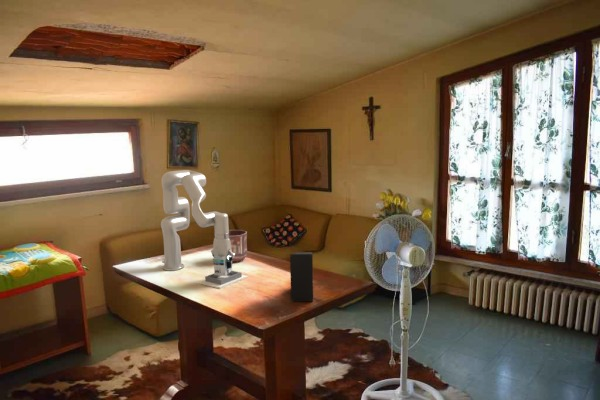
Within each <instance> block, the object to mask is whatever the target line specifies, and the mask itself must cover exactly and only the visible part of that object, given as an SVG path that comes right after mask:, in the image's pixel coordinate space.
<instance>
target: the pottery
mask: <svg viewBox="0 0 600 400" xmlns="http://www.w3.org/2000/svg"><path fill="white" fill-rule="evenodd" d="M229 239H230V243H231V251H232V252H233V253H234V254H235V256H234V259H233V260H232V264H235V263H240V262H242V261H244V260H245V258H247V255H248V244H247V243H248V241H247V239H248V231H246V230H243V229H229Z"/></svg>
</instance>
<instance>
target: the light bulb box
mask: <svg viewBox="0 0 600 400" xmlns="http://www.w3.org/2000/svg"><path fill="white" fill-rule="evenodd" d="M228 258H229V257H228ZM227 262H228V261H227V258H226V257H225V256H221V255H215V256H214V257H213V268H214V270H213V271H214V272H213V274H214V275H221V276H226V275H227V274H228V273H230V272H231V271H233V267H232V268H229V269H227Z"/></svg>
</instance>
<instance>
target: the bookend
mask: <svg viewBox="0 0 600 400" xmlns="http://www.w3.org/2000/svg"><path fill="white" fill-rule="evenodd" d="M313 255H314V254H313V252H307V251H306V252H304V251H303V252H294V253H290V254H289V261H290V262H289V264H290V266H289V267H290V269H289V270H290V301H291V302H313V301H314V273H313V272H314V268H313V267H314V266H313V265H314V264H313V261H314V259H313Z"/></svg>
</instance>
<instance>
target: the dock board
mask: <svg viewBox="0 0 600 400" xmlns="http://www.w3.org/2000/svg"><path fill="white" fill-rule="evenodd" d="M204 277H205V278H204V279H203V280H200V281H198V285H199V284H200V285H203V286H208V287H212V288H216V289H223V288H225V287H228V286H231V285H233V284H236V283H238V282H241V281H242V280H243V281H244V280H245V279H249V276H248V275H245V274H243V273H242V272H241V271H236V270H232V271H231V272H230V273H228V274H227V275H226V276H221V275H214V273H212V274H208V275H206V276H204Z"/></svg>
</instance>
